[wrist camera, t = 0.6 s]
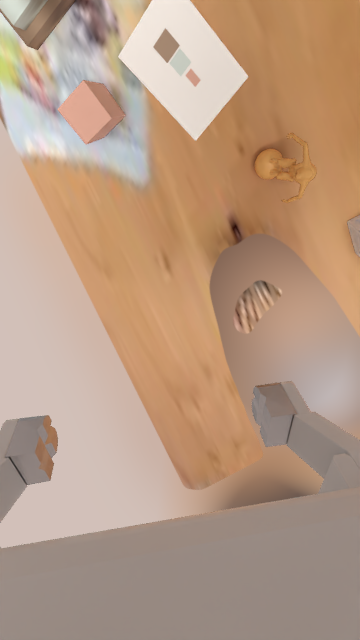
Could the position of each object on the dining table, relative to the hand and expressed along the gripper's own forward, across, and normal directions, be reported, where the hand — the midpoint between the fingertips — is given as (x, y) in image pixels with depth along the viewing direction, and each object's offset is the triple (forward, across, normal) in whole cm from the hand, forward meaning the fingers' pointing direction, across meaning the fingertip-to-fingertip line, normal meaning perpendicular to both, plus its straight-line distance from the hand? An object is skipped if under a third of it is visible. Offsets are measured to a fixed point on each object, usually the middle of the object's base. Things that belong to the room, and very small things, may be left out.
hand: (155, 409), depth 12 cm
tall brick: (+46, +3, -10) cm, 47 cm away
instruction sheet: (+43, -8, -14) cm, 46 cm away
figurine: (+41, -21, -2) cm, 46 cm away
